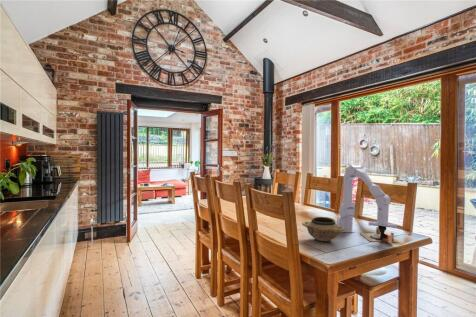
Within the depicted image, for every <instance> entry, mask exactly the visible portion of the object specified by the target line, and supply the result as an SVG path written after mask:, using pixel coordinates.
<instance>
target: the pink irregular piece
mask: <svg viewBox="0 0 476 317" xmlns="http://www.w3.org/2000/svg"><path fill="white" fill-rule="evenodd" d="M370 237H372V238H375V239H380V234H377V233H376V232H374V233H370ZM381 240H383V241H385V242H384V243H387V244H391V243H392V235H391V233H388V232H386V231H385V232H384V234H383V239H381Z"/></svg>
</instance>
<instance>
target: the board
mask: <svg viewBox="0 0 476 317" xmlns="http://www.w3.org/2000/svg"><path fill="white" fill-rule="evenodd" d="M375 227H376V228H375V233H377V234H380V230H379V228H378V226H375ZM359 234H360V236H362V237H363V238H364V239H366V240H367V241H368V242H369V243H371V242H372V243H386V242H385V241H383V240H381V239H375V238H372V237H370V234H371V233H370V232H369V233H367V232H366V233H365V232H362V233H361V232H360V233H359ZM392 243H395V244H397V243H399V242H398V241H397V240H396V239H394V240H392Z"/></svg>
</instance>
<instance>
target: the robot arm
mask: <svg viewBox="0 0 476 317" xmlns="http://www.w3.org/2000/svg"><path fill="white" fill-rule="evenodd" d="M355 178H359V179H361V180H362V181H363V182H364V183H365V185H366V186H367V188H368V191H369V192H370V193H371V195H372V196H373V197H374V199H375V203H376V207H377V209H376V210H377V214H376V215H377V216H376V221H368V226H374V227H378V228H379V230H380V239H383V234H384V232H386V231H387V228H392V229H398V228H397V226H398V225H397V224H396V223H391V222H390V223H389V209H390V204H392V203H391V202H392V199H391V196H390V195H389V194H386V193H385V192H384V191H383V190H382V188H381V186H380V185H378V184H374V182H373V180H372V179H371V178H370V176H369V175H368V174H367V172H366V169H365V168H364V167H363V166H362V165H349V166H347V167H346V168H345V172H344V175H343V189H342V190H343V193H342V194H343V195H342V198H343V200H342V203H341V204H340V206H339V209H338V214H339V216H340V217H337V218H336V224H337V225H338V226H341V227H344V228H345V230H344V231H339V233H355V230H353V224H354V223H353V222H354V221H353V220H354V219H353V218H354V216H355V215H356V209H355V204H353V186H354V185H353V182H354V179H355Z"/></svg>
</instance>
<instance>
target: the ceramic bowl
mask: <svg viewBox="0 0 476 317" xmlns="http://www.w3.org/2000/svg"><path fill="white" fill-rule="evenodd" d="M301 225H302V226H303V227H305V228H306V229H307V232H308V234H309V236H311V238H313V240H314V242H316V243H319V244H322V245H323V244H325V245H326V244H327V245H328V244H331V242H332V240H335V239H336V238H337V237H338V236H339V234H340V231H344V230H345V228H344V227H341V226H338V225H337V222H336V219H334V218H331V217H327V216H314V217H312V218H311V221H303V222H302V223H301Z"/></svg>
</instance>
